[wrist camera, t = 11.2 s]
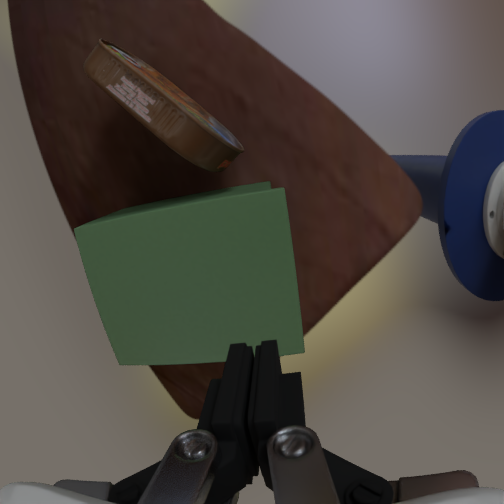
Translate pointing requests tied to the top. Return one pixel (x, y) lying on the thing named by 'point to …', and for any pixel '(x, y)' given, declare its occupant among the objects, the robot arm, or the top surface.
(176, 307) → the lid
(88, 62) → the tin
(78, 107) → the top surface
